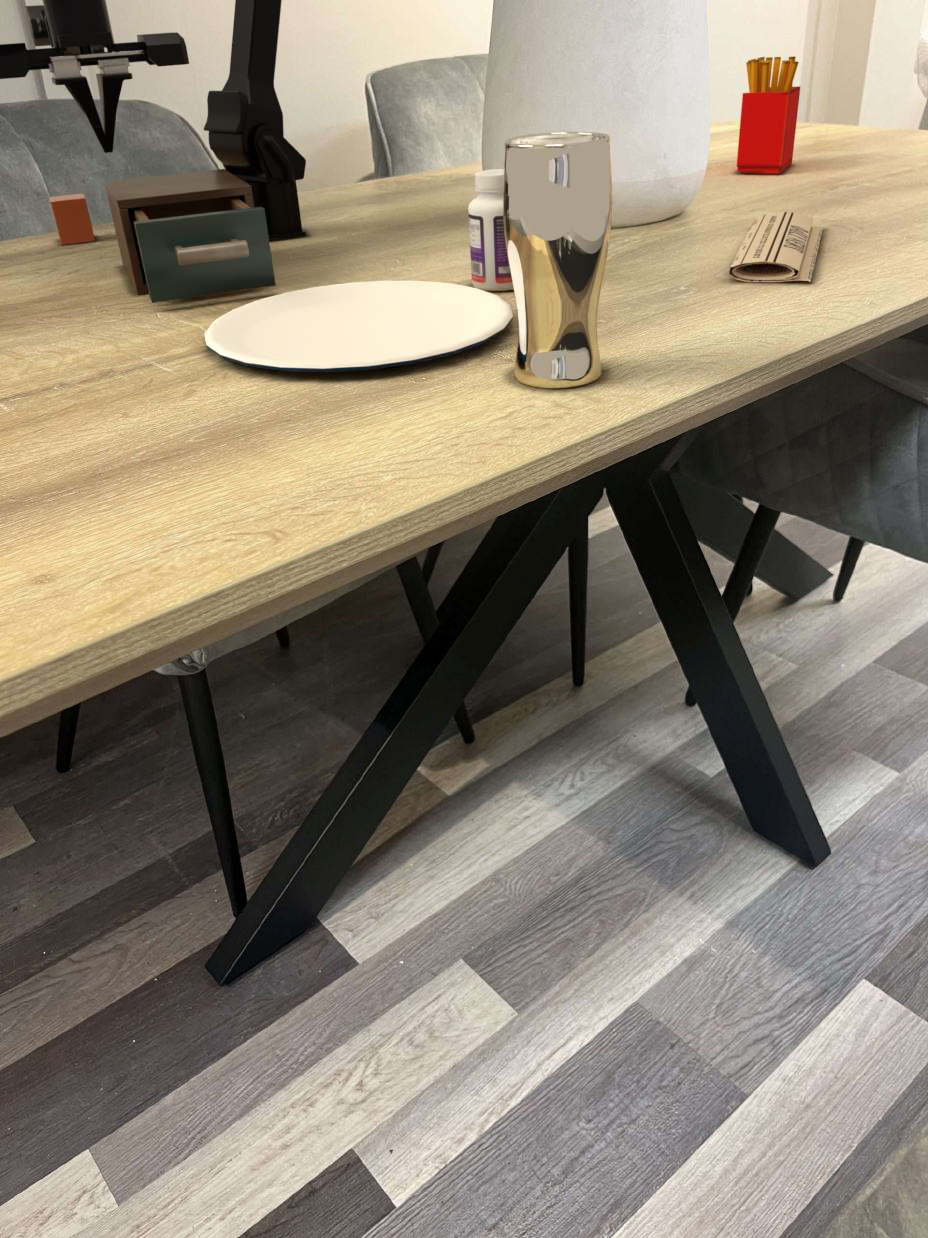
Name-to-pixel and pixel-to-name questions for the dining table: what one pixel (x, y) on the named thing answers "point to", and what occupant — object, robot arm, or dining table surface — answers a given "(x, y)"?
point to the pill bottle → (488, 234)
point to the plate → (358, 326)
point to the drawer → (202, 248)
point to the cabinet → (164, 192)
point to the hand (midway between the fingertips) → (108, 152)
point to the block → (72, 219)
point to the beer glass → (557, 251)
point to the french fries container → (768, 117)
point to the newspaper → (778, 249)
